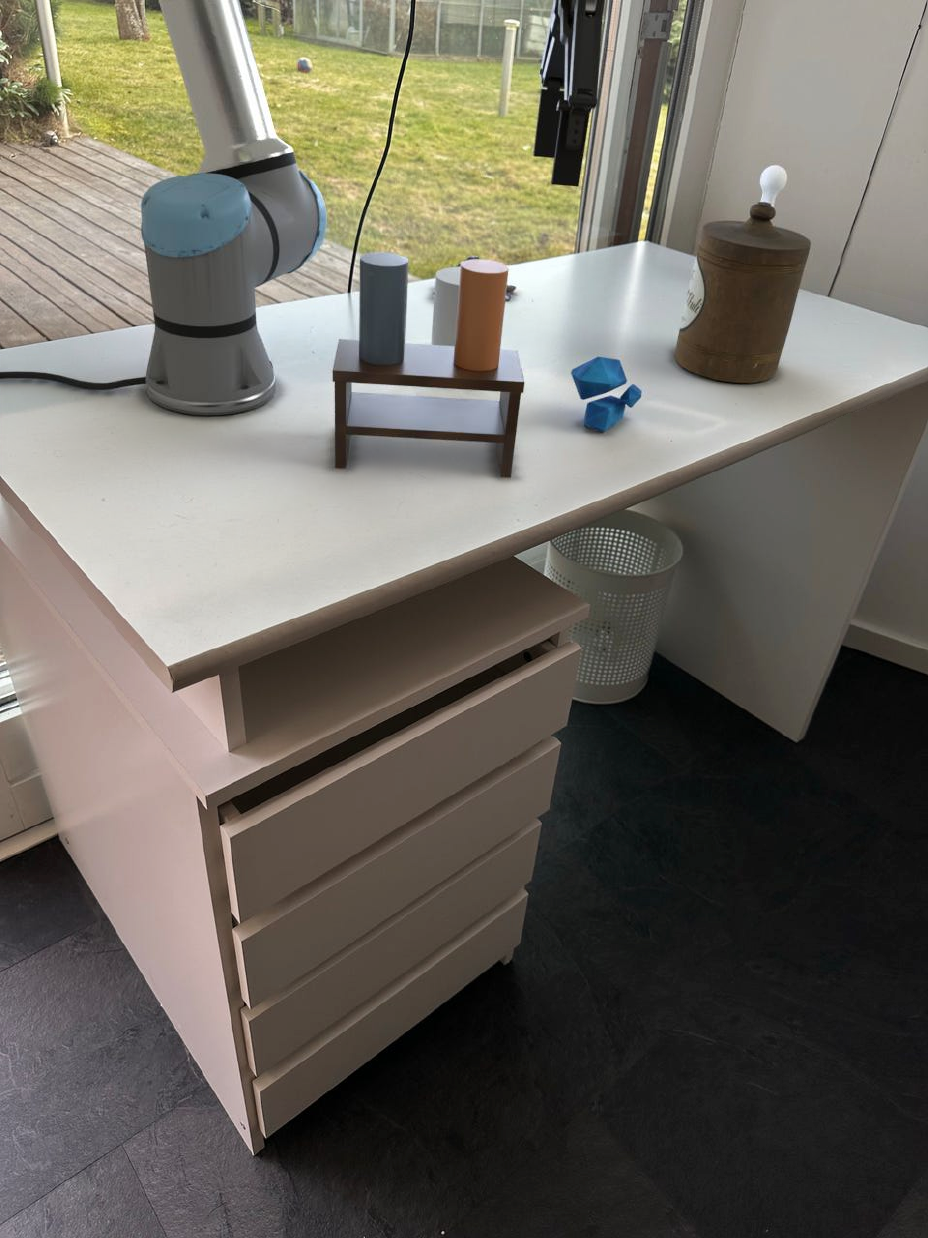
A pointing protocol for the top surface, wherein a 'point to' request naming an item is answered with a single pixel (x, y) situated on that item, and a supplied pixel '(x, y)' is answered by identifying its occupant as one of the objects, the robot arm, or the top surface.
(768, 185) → the white light bulb
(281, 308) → the top surface
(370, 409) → the desk shelf
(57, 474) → the top surface
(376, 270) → the slate tin
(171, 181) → the robot arm
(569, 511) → the top surface
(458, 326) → the copper tin
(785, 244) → the wooden container
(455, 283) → the cup
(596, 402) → the crystal
